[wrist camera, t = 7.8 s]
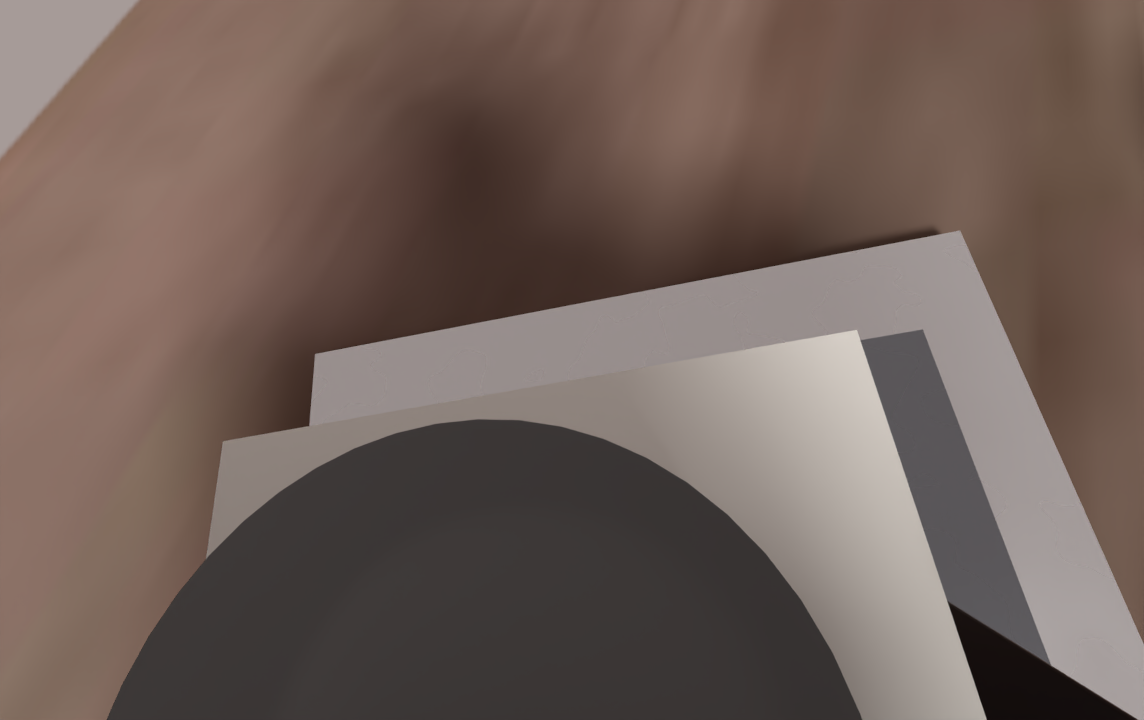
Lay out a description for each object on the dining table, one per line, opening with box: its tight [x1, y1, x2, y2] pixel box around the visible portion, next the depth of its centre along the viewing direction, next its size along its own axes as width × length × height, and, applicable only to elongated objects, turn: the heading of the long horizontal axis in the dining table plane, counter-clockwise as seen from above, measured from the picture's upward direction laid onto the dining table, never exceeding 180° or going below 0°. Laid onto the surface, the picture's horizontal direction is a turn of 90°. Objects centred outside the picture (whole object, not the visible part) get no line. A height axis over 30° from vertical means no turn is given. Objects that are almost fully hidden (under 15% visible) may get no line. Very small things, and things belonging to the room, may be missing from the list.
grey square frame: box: [309, 231, 1144, 720], centre depth 13 cm, size 20×18×4 cm
